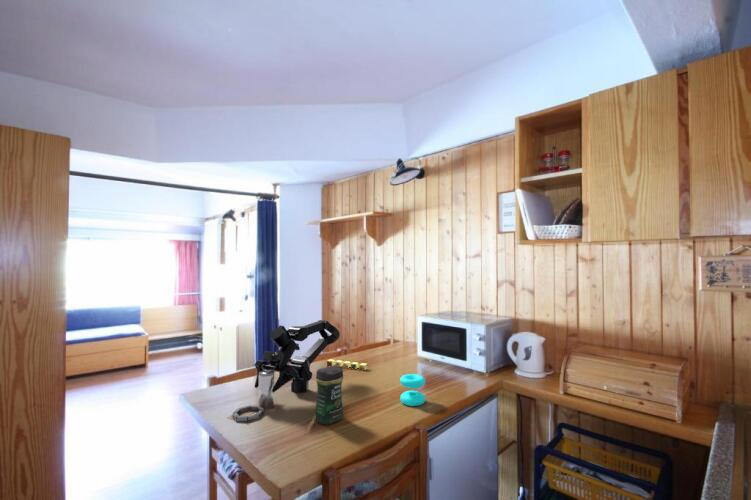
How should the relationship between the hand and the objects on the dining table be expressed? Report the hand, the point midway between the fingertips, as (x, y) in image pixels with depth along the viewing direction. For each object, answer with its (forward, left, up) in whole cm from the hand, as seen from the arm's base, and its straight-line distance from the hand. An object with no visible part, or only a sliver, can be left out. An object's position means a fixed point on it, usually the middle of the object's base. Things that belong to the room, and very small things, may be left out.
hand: (264, 389), depth 130 cm
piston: (0, -1, -7) cm, 7 cm away
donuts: (-56, -13, -8) cm, 58 cm away
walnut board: (+1, +3, -8) cm, 9 cm away
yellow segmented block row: (-22, -55, -9) cm, 60 cm away
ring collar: (+3, +7, -7) cm, 10 cm away
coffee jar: (-26, +5, -8) cm, 28 cm away
